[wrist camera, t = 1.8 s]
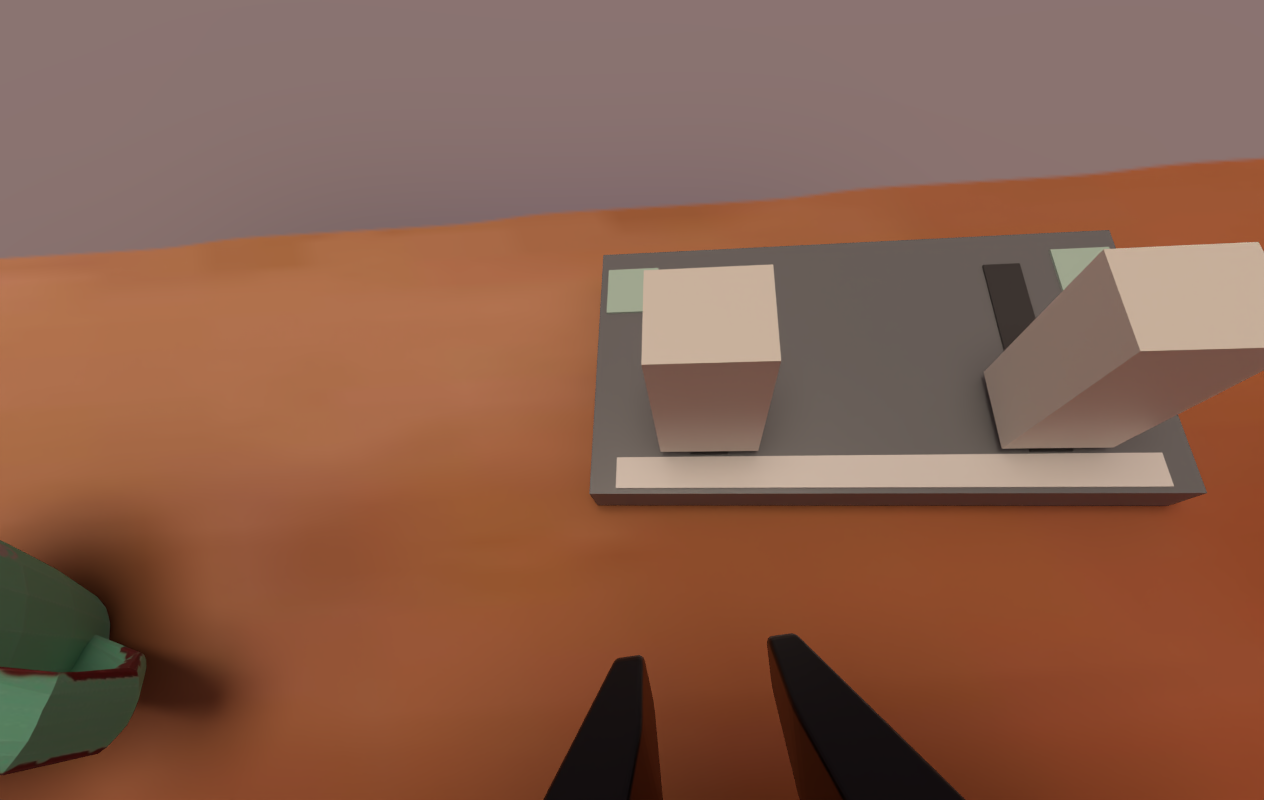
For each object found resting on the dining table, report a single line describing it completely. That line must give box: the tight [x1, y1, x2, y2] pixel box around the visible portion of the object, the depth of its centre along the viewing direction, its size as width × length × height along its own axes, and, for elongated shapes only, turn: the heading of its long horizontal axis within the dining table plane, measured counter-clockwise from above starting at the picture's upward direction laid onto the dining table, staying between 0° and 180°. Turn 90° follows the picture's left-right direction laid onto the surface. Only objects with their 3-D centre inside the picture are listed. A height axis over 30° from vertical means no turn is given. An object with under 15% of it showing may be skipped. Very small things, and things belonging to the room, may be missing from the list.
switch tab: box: [641, 264, 781, 452], centre depth 19 cm, size 3×4×7 cm
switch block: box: [590, 230, 1207, 506], centre depth 24 cm, size 11×21×2 cm, turn 88°
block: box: [984, 242, 1264, 449], centre depth 18 cm, size 3×4×7 cm
